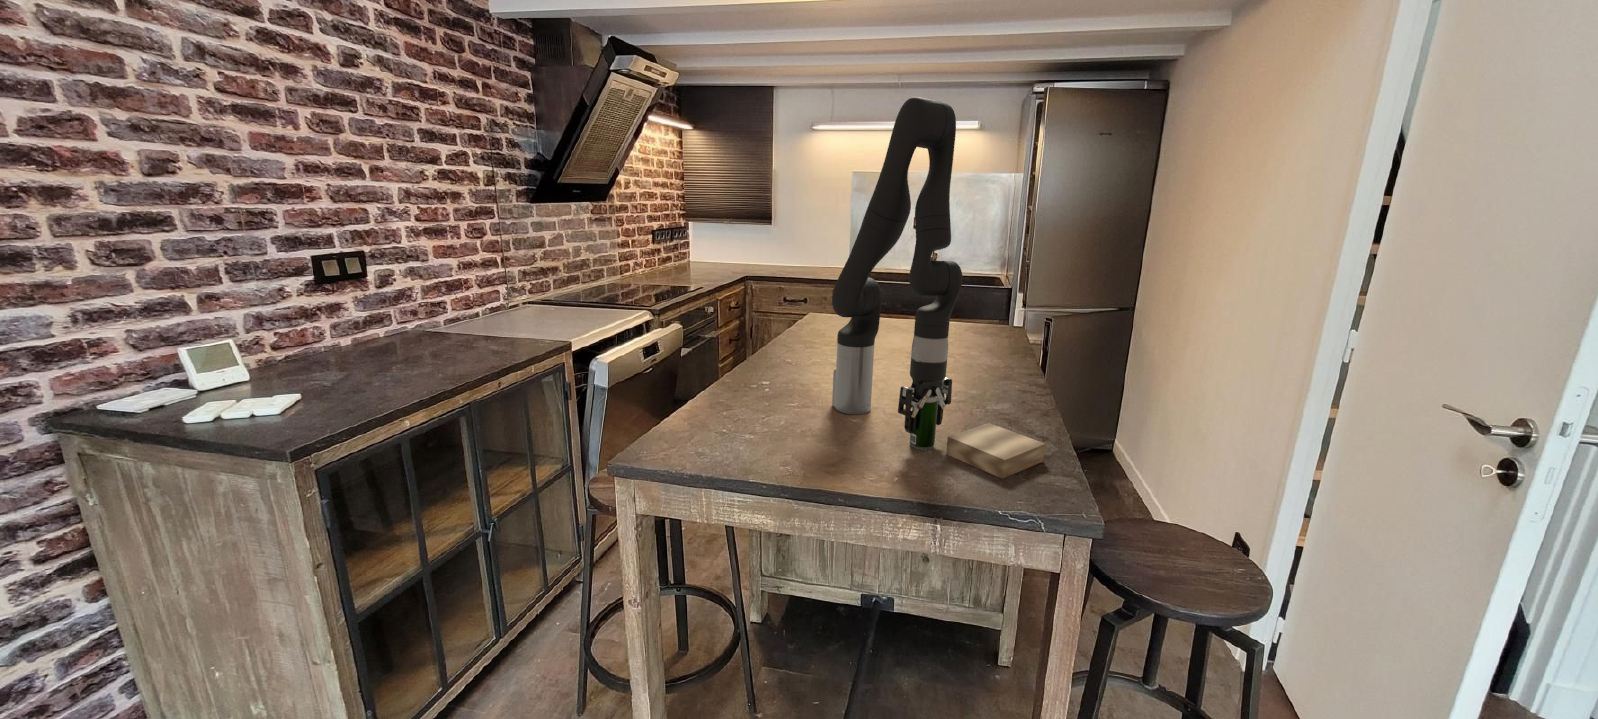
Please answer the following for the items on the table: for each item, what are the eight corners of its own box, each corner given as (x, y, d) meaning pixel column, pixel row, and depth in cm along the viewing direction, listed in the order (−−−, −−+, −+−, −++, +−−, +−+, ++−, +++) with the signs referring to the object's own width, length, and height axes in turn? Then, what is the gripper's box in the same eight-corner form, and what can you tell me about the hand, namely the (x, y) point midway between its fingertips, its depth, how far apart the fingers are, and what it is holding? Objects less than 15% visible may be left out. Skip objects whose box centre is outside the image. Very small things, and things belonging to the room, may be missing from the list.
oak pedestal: (946, 453, 131) (947, 436, 129) (986, 439, 139) (988, 422, 138) (1002, 478, 120) (1004, 459, 119) (1042, 461, 128) (1045, 443, 127)
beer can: (921, 452, 131) (925, 399, 128) (904, 443, 135) (908, 392, 132) (939, 447, 134) (944, 395, 131) (921, 438, 138) (926, 388, 135)
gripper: (937, 347, 136) (931, 416, 140) (892, 357, 128) (887, 429, 132) (965, 355, 130) (958, 426, 135) (919, 365, 122) (913, 441, 126)
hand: (923, 428), depth 133 cm, fingers open, 8 cm apart
